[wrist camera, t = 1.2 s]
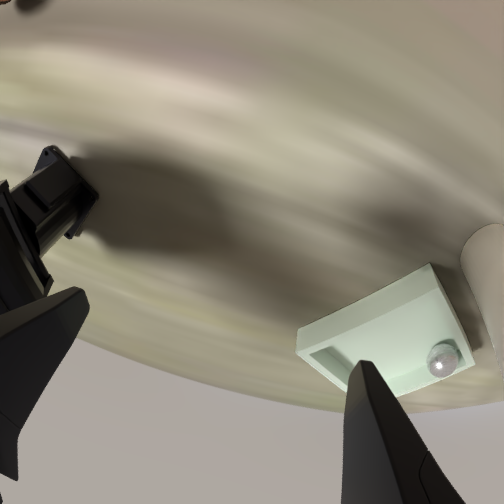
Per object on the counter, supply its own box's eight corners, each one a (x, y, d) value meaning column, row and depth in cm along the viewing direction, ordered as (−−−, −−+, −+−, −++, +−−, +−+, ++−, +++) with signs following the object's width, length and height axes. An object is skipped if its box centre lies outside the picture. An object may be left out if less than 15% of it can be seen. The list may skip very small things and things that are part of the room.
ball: (429, 360, 27) (434, 387, 24) (419, 345, 25) (424, 374, 23) (458, 347, 25) (464, 374, 22) (449, 331, 24) (457, 360, 21)
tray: (365, 387, 32) (365, 407, 30) (297, 329, 27) (295, 352, 25) (469, 343, 25) (475, 364, 23) (429, 262, 21) (438, 286, 19)
